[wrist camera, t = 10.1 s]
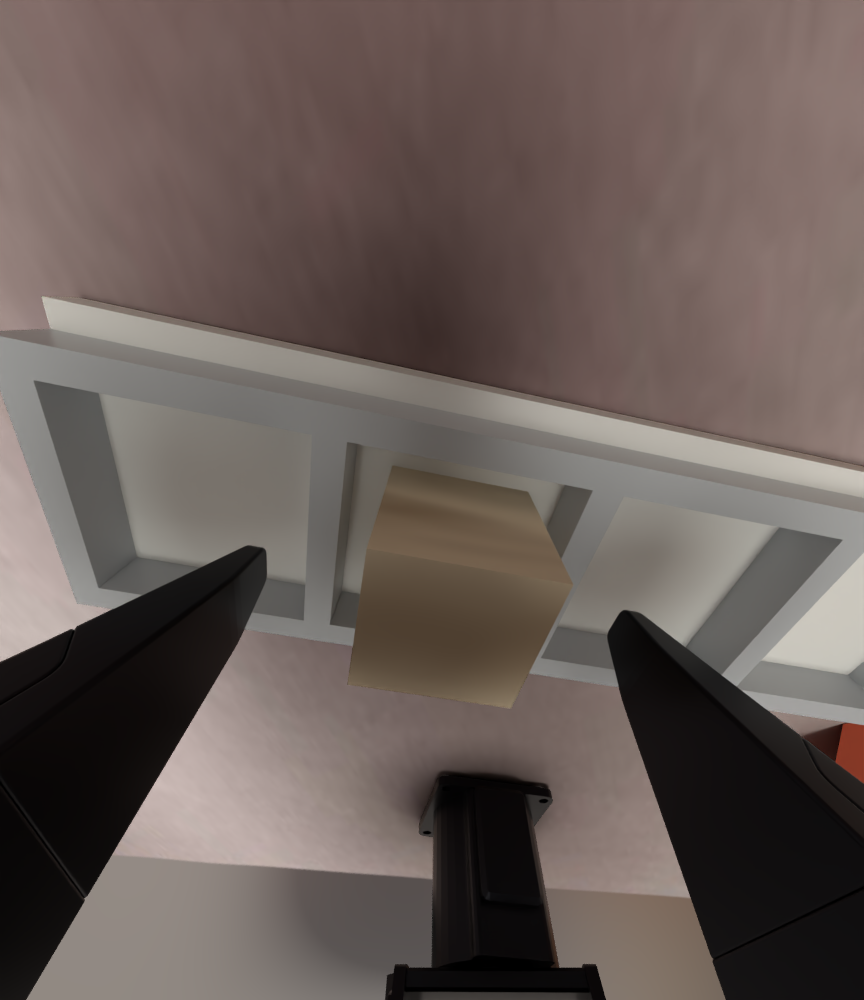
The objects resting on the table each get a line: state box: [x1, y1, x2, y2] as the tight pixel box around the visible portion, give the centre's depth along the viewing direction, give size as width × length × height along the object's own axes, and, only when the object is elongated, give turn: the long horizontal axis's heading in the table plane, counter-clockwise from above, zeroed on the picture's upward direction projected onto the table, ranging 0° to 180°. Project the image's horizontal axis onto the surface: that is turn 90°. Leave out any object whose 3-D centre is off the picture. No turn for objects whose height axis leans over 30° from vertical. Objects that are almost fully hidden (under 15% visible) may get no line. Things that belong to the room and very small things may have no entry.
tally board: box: [0, 296, 864, 725], centre depth 11 cm, size 9×28×2 cm, turn 79°
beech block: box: [347, 466, 573, 708], centre depth 9 cm, size 4×4×4 cm
